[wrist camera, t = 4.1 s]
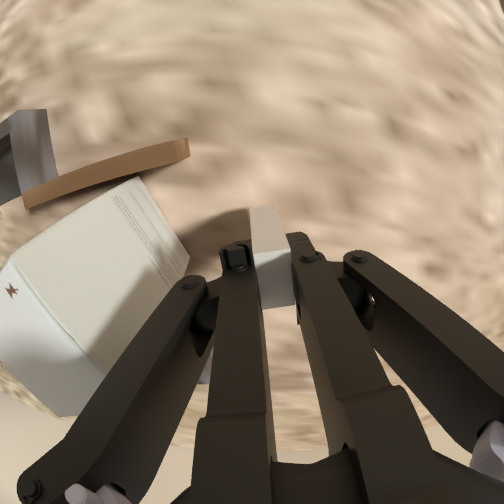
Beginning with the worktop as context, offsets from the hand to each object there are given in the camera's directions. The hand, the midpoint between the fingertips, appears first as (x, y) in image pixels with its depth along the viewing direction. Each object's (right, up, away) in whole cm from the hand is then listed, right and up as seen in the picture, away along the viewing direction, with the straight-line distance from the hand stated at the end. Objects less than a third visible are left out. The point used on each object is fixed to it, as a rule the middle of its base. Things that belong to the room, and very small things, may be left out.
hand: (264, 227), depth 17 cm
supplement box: (-10, -1, +2) cm, 10 cm away
